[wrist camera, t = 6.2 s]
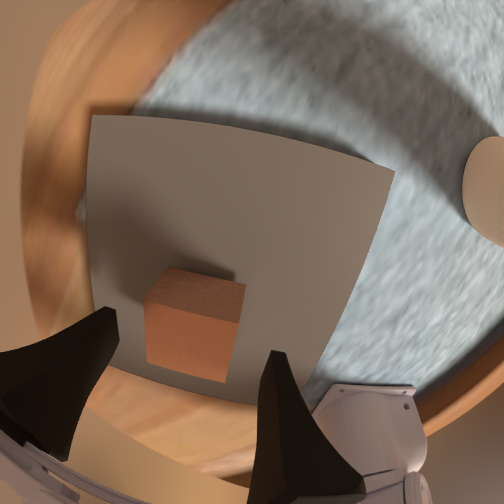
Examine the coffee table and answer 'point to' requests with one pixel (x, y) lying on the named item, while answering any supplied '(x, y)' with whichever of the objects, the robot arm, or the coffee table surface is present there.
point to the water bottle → (486, 189)
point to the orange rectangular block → (192, 323)
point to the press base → (228, 236)
